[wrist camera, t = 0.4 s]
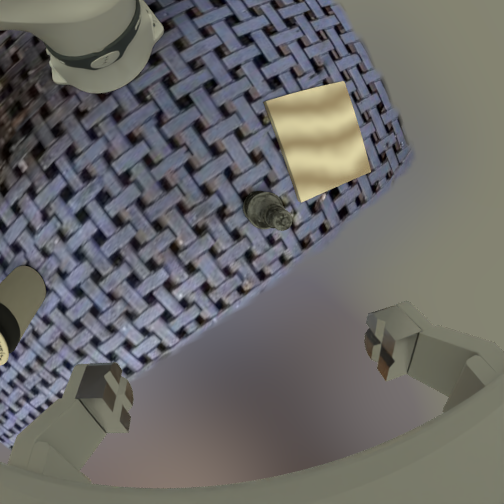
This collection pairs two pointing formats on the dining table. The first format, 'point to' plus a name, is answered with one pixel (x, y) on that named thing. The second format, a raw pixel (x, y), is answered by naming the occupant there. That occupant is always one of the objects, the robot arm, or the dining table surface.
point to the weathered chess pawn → (266, 211)
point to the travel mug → (18, 306)
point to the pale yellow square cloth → (318, 138)
